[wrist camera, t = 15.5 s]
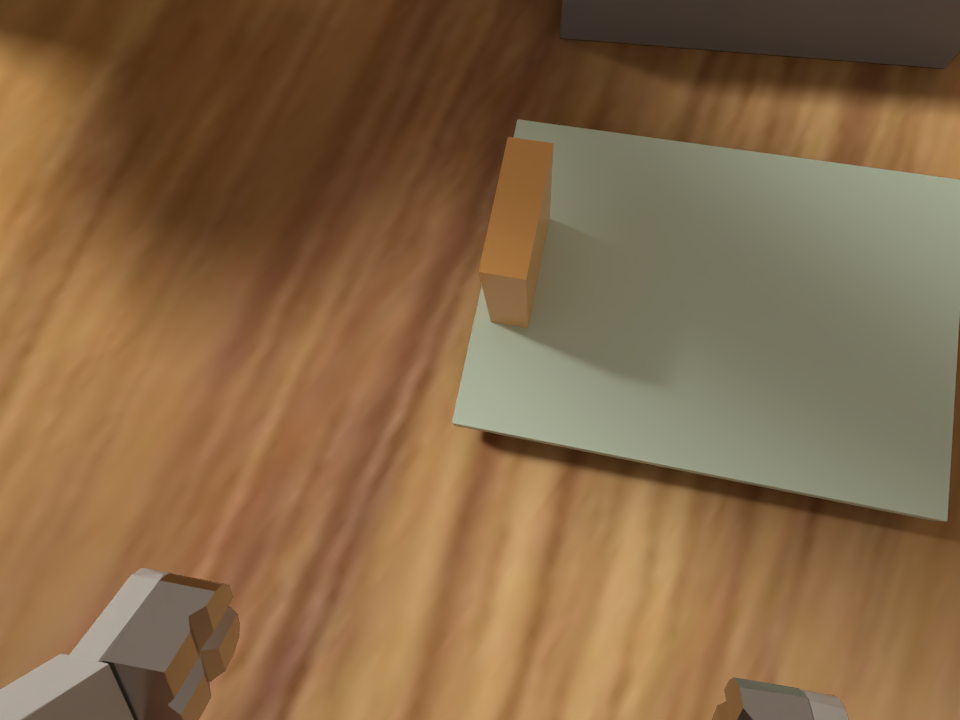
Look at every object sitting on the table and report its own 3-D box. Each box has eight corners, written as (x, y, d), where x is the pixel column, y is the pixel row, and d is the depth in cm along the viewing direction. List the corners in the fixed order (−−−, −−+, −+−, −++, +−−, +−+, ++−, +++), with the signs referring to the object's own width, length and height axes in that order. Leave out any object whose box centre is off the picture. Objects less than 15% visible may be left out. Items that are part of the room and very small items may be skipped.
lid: (458, 429, 29) (428, 400, 20) (518, 148, 31) (513, 22, 23) (909, 519, 26) (1080, 527, 18) (931, 207, 29) (1089, 90, 21)
